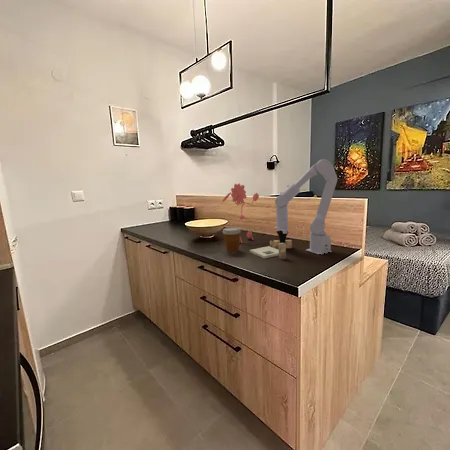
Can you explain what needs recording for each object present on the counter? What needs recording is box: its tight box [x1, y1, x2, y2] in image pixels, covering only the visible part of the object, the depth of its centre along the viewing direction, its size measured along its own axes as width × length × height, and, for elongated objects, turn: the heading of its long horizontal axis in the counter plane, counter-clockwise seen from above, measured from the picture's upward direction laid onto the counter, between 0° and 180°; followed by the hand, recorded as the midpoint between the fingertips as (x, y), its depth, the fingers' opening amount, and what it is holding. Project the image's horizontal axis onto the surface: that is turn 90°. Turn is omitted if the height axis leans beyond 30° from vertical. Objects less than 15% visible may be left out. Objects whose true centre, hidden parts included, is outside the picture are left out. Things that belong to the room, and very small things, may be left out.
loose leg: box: [278, 243, 287, 260], centre depth 117 cm, size 3×3×7 cm
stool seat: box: [249, 245, 279, 259], centre depth 126 cm, size 13×12×1 cm
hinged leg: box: [269, 239, 293, 249], centre depth 134 cm, size 11×2×5 cm, turn 84°
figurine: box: [221, 183, 260, 244], centre depth 153 cm, size 15×26×35 cm, turn 128°
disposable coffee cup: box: [222, 226, 242, 254], centre depth 133 cm, size 10×10×12 cm
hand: (282, 244), depth 132 cm, fingers closed
